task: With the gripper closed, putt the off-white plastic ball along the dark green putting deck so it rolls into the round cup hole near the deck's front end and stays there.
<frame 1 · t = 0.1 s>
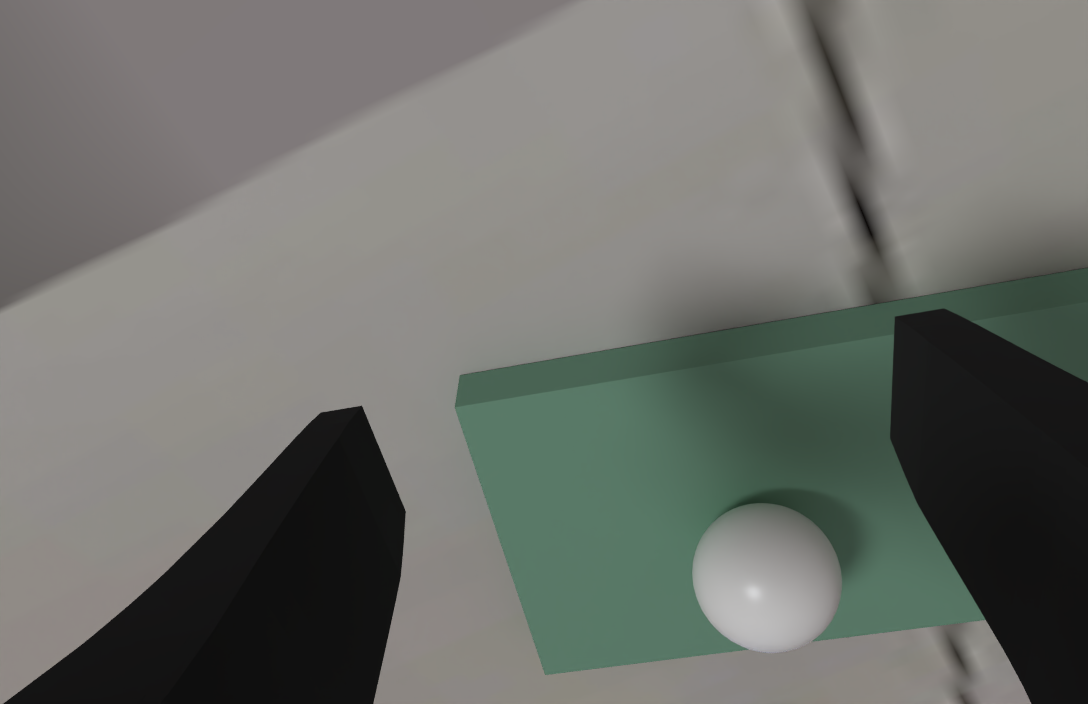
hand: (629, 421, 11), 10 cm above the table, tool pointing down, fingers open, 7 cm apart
putting deck: (937, 459, 24), on the table
ball: (765, 576, 22), point 3 cm above the table, touching putting deck
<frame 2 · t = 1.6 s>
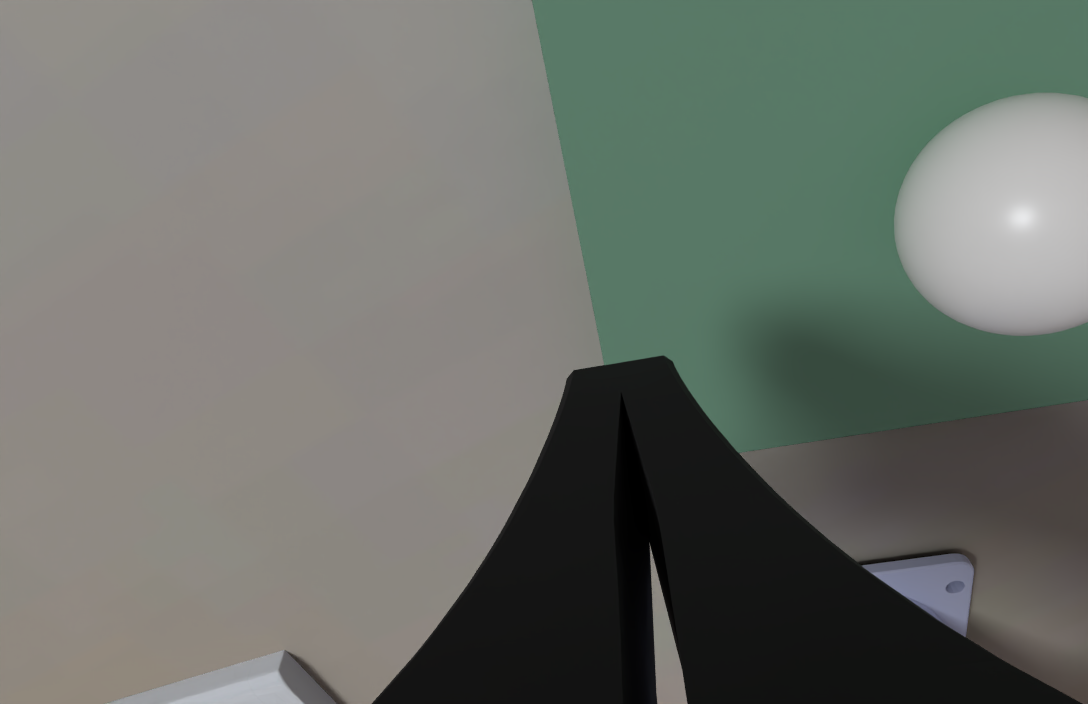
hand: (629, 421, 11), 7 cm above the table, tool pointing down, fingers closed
ball: (1023, 217, 13), point 3 cm above the table, touching putting deck
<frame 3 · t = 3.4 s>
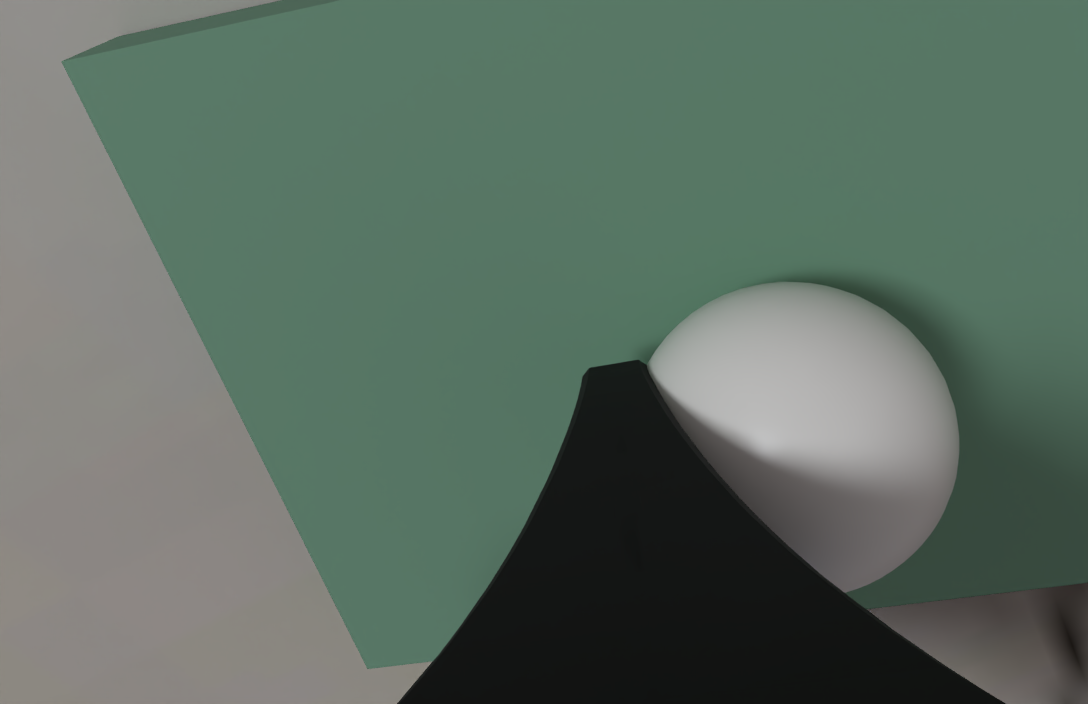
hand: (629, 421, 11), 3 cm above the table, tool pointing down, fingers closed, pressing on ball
putting deck: (1081, 255, 13), on the table
ball: (784, 436, 10), point 3 cm above the table, tilted 16°, touching gripper, putting deck
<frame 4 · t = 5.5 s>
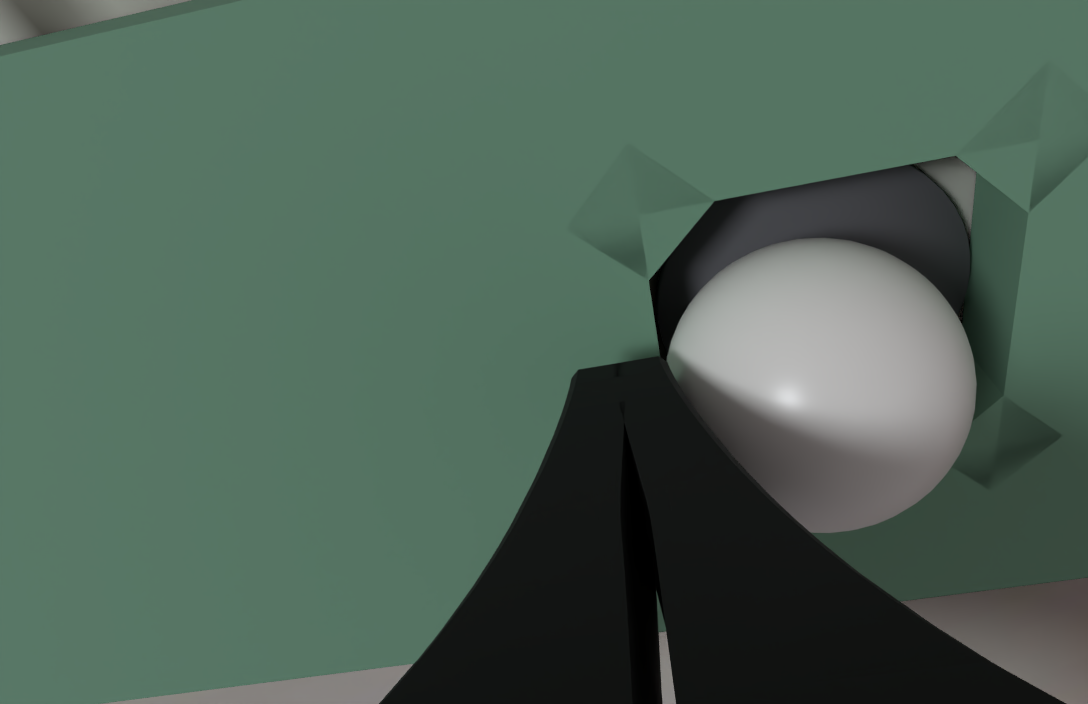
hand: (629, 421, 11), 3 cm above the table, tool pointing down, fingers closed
putting deck: (332, 372, 14), on the table
ball: (811, 384, 11), point 2 cm above the table, tilted 119°, touching gripper, putting deck
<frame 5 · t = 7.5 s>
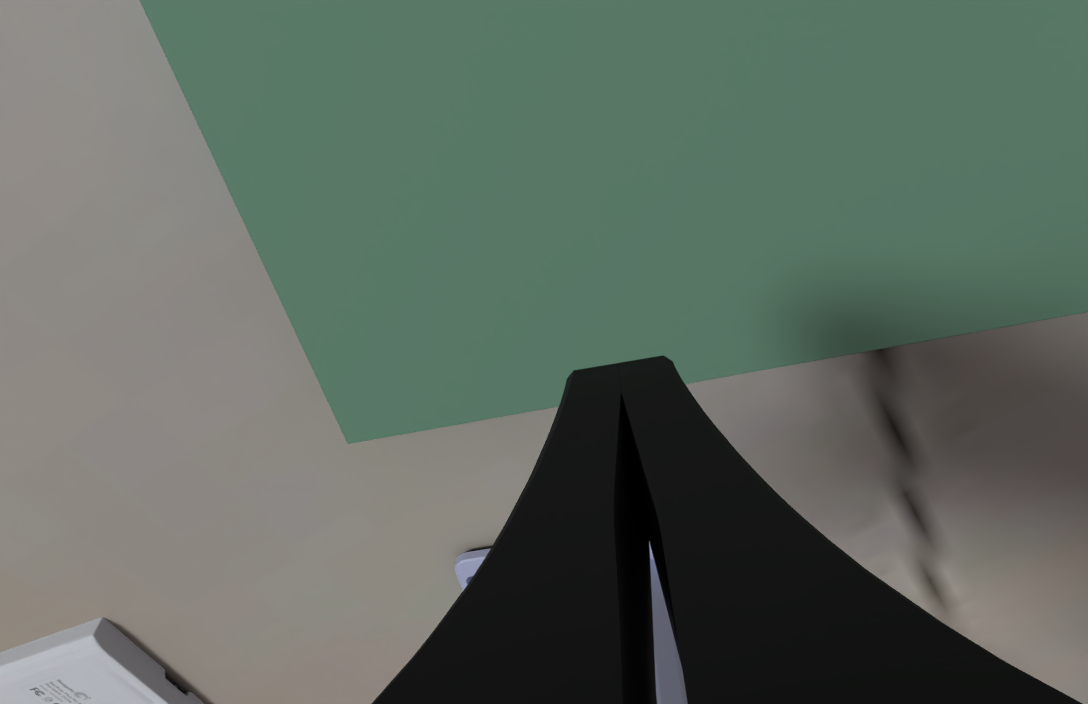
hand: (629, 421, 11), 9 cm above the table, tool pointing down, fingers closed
putting deck: (839, 95, 18), on the table
external hard drive: (62, 703, 32), on the table
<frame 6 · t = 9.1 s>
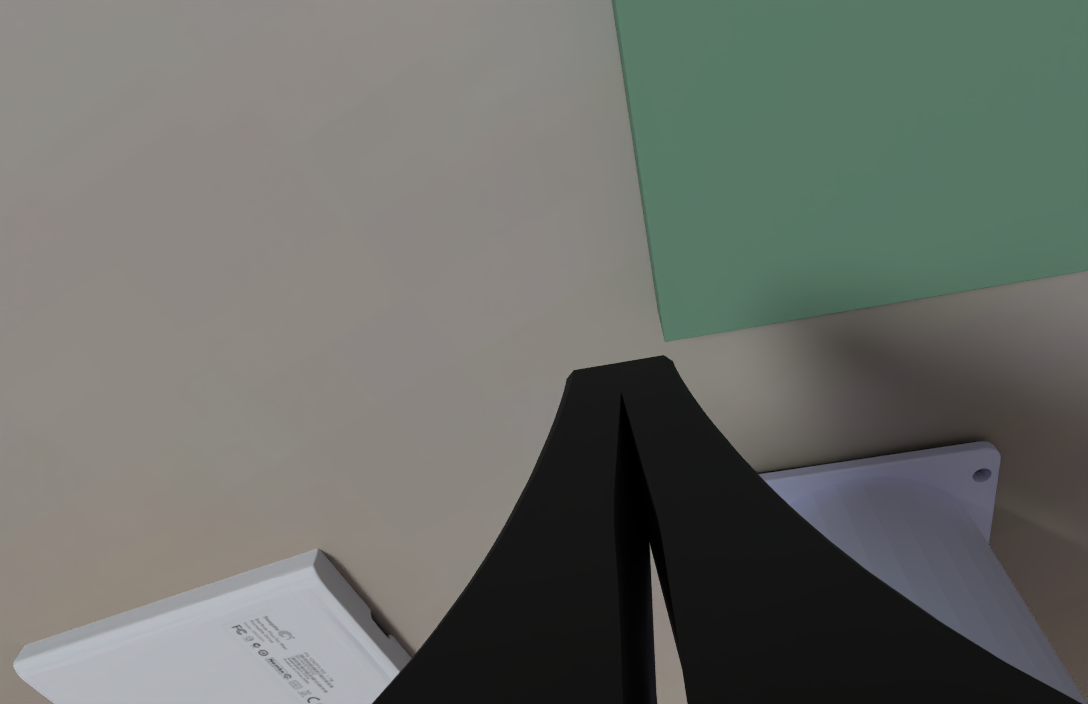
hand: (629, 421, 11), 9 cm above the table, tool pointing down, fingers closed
external hard drive: (242, 649, 30), on the table
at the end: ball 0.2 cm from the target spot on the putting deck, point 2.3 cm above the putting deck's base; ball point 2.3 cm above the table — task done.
